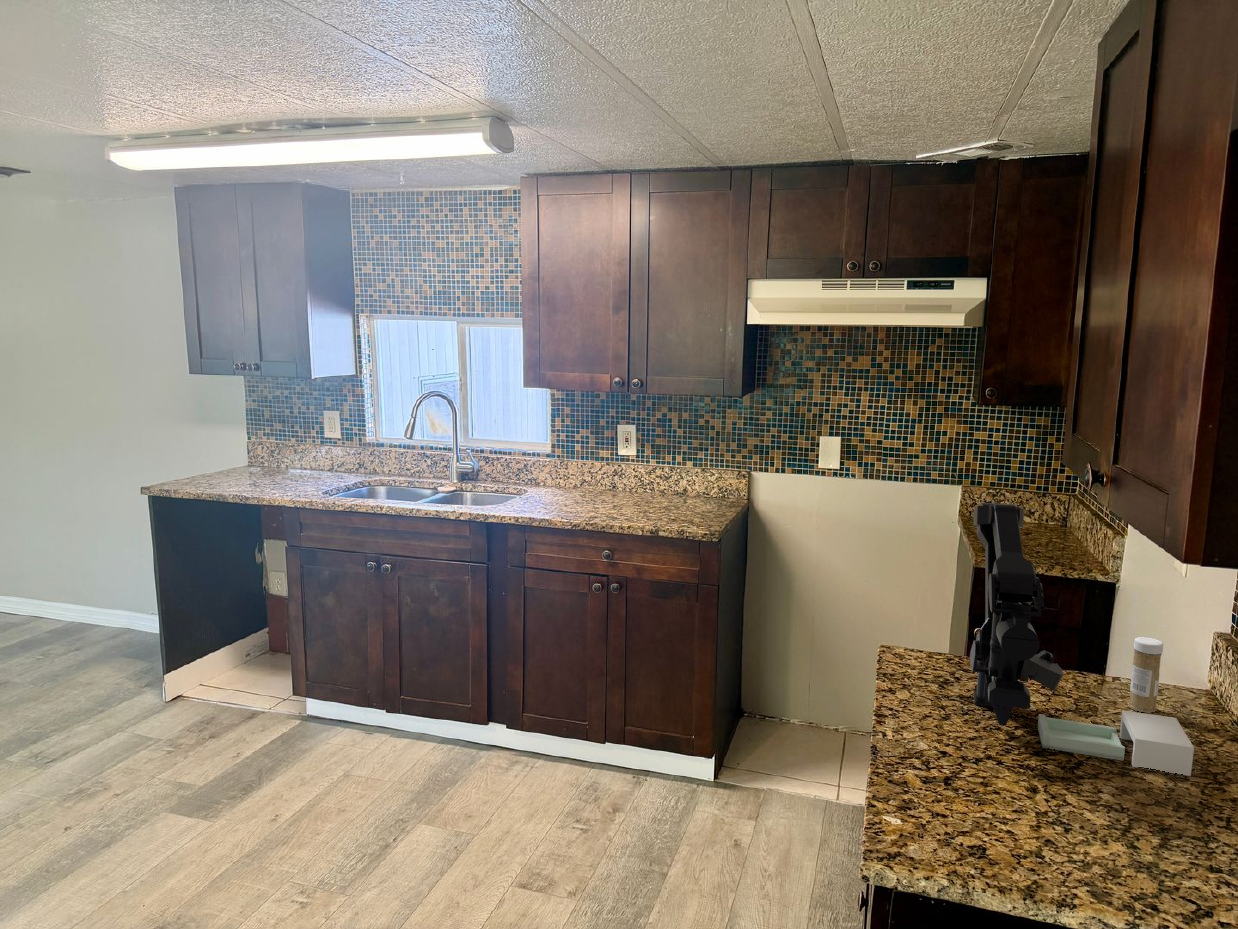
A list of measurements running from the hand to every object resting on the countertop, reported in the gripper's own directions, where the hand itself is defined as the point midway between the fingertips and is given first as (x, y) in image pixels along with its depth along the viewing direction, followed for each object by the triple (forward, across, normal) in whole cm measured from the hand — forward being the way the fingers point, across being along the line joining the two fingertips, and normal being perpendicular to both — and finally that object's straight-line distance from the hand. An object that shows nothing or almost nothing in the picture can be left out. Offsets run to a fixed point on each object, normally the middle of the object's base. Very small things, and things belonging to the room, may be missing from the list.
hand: (1002, 725), depth 149 cm
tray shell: (+1, 0, -12) cm, 12 cm away
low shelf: (+1, 0, -23) cm, 23 cm away
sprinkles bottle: (+1, +20, -25) cm, 32 cm away
